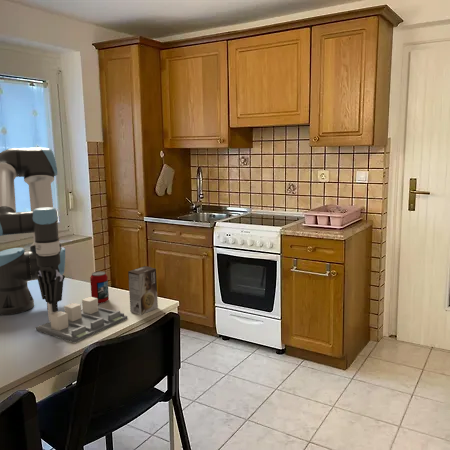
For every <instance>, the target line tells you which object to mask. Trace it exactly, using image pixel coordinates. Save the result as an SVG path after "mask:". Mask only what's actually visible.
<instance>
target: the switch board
mask: <svg viewBox="0 0 450 450" xmlns="http://www.w3.org/2000/svg"><path fill="white" fill-rule="evenodd" d="M81 316H82V318H80V319H78V320H75V321H73V322H72V321H69V320H68V326H69V327H67V328H65V329H62V330H60V331H57V330H54V329H51V321H48V322H47V323H43V324H40V325H38V326H36V327H35V331H37V332H40V333H43V334H47V335H49V336H53V337H55V338H58V339H61V340H65V341H67V342H71V343H73V344H75V343H77V342H80V341H82V340H84V339H86V338H88V337H90V336H93V335H95V334H97V333H100V332H101V331H104V330H105V329H106V330H107V329H108V328H111V327H112V326H115V325H117V324H119V323H121V322H124V321H126V320H127V319H128V316H127V315H125V312H122V311H120V310H112V309H109V308H108V309H107V308H104V307H101V306H98V311H97V312H95V313H92V314H87V313H83V308H81Z"/></svg>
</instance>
